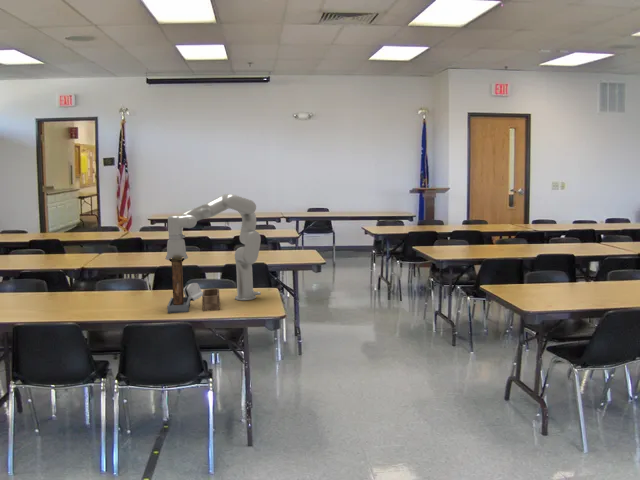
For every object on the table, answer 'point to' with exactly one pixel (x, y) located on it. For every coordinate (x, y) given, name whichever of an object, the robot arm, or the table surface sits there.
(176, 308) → the tray
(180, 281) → the book
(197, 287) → the white gray electronic device
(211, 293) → the frame
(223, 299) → the table surface
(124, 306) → the table surface
